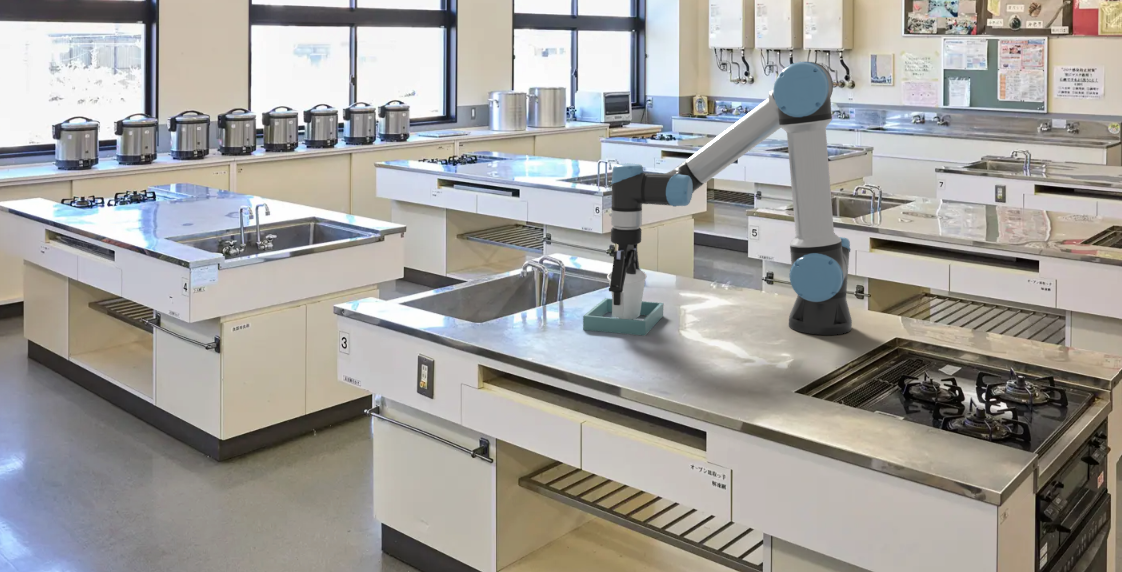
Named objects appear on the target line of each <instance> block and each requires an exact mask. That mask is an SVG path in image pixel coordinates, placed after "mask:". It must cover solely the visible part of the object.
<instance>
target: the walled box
mask: <svg viewBox="0 0 1122 572" xmlns="http://www.w3.org/2000/svg"><path fill="white" fill-rule="evenodd" d="M664 306H665V305H664V302H658V301H656V302H655V301H643V300H642V304H641V311H640V316H645V317H644V319H643V320H642V319H622V318H616V317H612V316H611V317H608V316H605V314H607V313H612V298H608V297H607V298H606V297H605V298H604V299H602V300H601V301H600V302H599V303H598V304H596V305H594V306H593V307H592V308H591V309H590V310H589V311H587V312H586V313H585V314H584V315H583V316H582V317H583V318H582V330H584V331H592V332H593V331H594V332H604V333H613V334H614V333H617V334H622V335H623V334H626V335H636V336H647V334H648V333H649V332H650V331H651V330H652V329H653V327H655V326H656V324H658V322H659V321H660V320H661V319H662V318H663V317H664Z"/></svg>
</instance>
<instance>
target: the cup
mask: <svg viewBox="0 0 1122 572" xmlns="http://www.w3.org/2000/svg"><path fill="white" fill-rule="evenodd" d="M611 276H612V271H610V272H609V273H608V274H607V275H606V277H607V280H608V284H609V286H610V283H611ZM646 280H647V273H646V272H645V271H643V270H641V269H639V270H637V269H636V274H627V273H626V276H625V281H624V286H623V291H624V313H623V318H622V319H633V320H637V319H638V318H639V317H640V316H641V315H640V311H641V304H642V301H643V297H644V290H645V284H646ZM610 293H611V295H612V292H611V291H610Z"/></svg>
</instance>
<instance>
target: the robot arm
mask: <svg viewBox="0 0 1122 572" xmlns="http://www.w3.org/2000/svg"><path fill="white" fill-rule="evenodd" d="M773 85H774V86H773V88H772V89H771V90H770V91H769V93H768V97H767V98H766V99H765V100H764V101H762V102H761V103H759V104H758V105H757V106H756V107H754V108H753V109H751V111H749V112H748V113H747V114H745V115H744V116H743V117H741V118H740V119H739V120H737V121H736V122H734V123H733V124H732V125H731V126H729V127H728V128H727V129H726V130H724V131H722V132H721V133H720V134H719V135H717V136H716V137H714V138H713V139H712V140H710V141H709V142H708V143H706V144H705V145H704V146H703V147H701V148H700V149H699V150H697V151H696V152H695V153H693V154H692V155H691V156H690V157H689V158H687V159H686V160H685V161H682V162H681V163H680V164H679V165H678V166H676V167H675V168H673V169H672V170H670V171H668V172H666V173H647V172H645V171H644V167H643V166H642V164H640V163H618V164H615V165H614V166H613V167H612V172H611V174H612V175H611V182H610V184H611V212H610V213H608V215H609V217H611V219H610V224H611V226H612V227H611V228H610V242H611V243H612V244H617V250H614V251H613V263H612V269H611V270H612V271H611V272H612V276H611V283H610V285H609V287H608V292H610V293H611V292H612V294H611V297H612V298H611V299H612V312H611V318H623V313H624V291H623V286H624V281H625V276H626V273H627V274H636V269H637V270H640V263H639V262H640V261H639V253H638V252H639V251H638V244H640V243H641V242H642V228H641V226H642V225H643V205H658V206H670V207H671V206H672V207H686V206H688V205H690V203H691V200H692V198H693V193H695V191H697V190H698V189H699V188H701V187H702V186H703V185H705V184H706V183H707V182H709V181H710V180H711V179H713V178H714V177H715V176H717V175H718V174H719V173H721V172H722V171H724V170H725V169H726V168H727V167H729V166H730V165H732V164H733V163H735V162H736V161H738V160H739V159H740V158H741V157H743V156H745V155H746V154H747V153H748V152H750V150H752V149H753V148H756V147H757V146H758V145H759V144H760V143H762V142H763V141H765V140H766V139H767V138H769V137H770V136H772V135H773V134H774V133H776V132H777V131H779V130H781V129H783V130H784V131H785V132H786V140H787V150H788V151H787V152H788V161H789V172H790V183H791V184H790V185H791V195H792V196H791V197H792V207H793V221H794V232H795V236H794V238H793V239H792V240H791V241H790V242H789V249H790V250H789V251H790V252H789V253H790V261H791V262H790V263H791V268H790V270H789V277H788V278H789V281H790V282H789V283H790V285H791V287H792V290H793V291H794V293H796V295H797V297H796V298H795V301H794V304H793V306H792V308H791V312H790V314H789V315H788V316H789V317H788V327H789V328H790V329H792V330H794V331H797V332H800V333H805V334H810V335H820V336H821V335H823V336H836V335H837V334H838V335H843V333H844V334H847V333H846V332H848V333H849V331H850V330H851V331H852V324H853V323H852V322H853V320H852V315H851V312H850V309H849V305H848V302H847V301H848V300H847V291H848V279H849V278H848V277H849V264H850V263H849V262H850V253H851V246H850V245H851V243H850V240H849V238H847V237H843V236H839V235H837V234H836V233H835V230H834V217H833V216H834V215H833V206H832V205H833V204H832V193H831V192H832V191H831V179H830V178H831V177H830V166H829V153H828V152H829V151H828V142H827V127H828V125H829V124H830V123H831V122H832V120H833V116H832V102H831V98H832V95H833V91H834V81H833V78H832V75H831V74H830V72H829V70H828V69H827V68H826V67H825V66H823V65H821V64H819V63H817V62H813V61H798V62H797V61H796V62H795V63H794V62H793V63H791V64H789V65H788V66H786V67H784V68H783V69H782V71H780V72H779V74H778V75H777V77H776V79H775V81H774V84H773ZM851 331H850V332H851Z"/></svg>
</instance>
